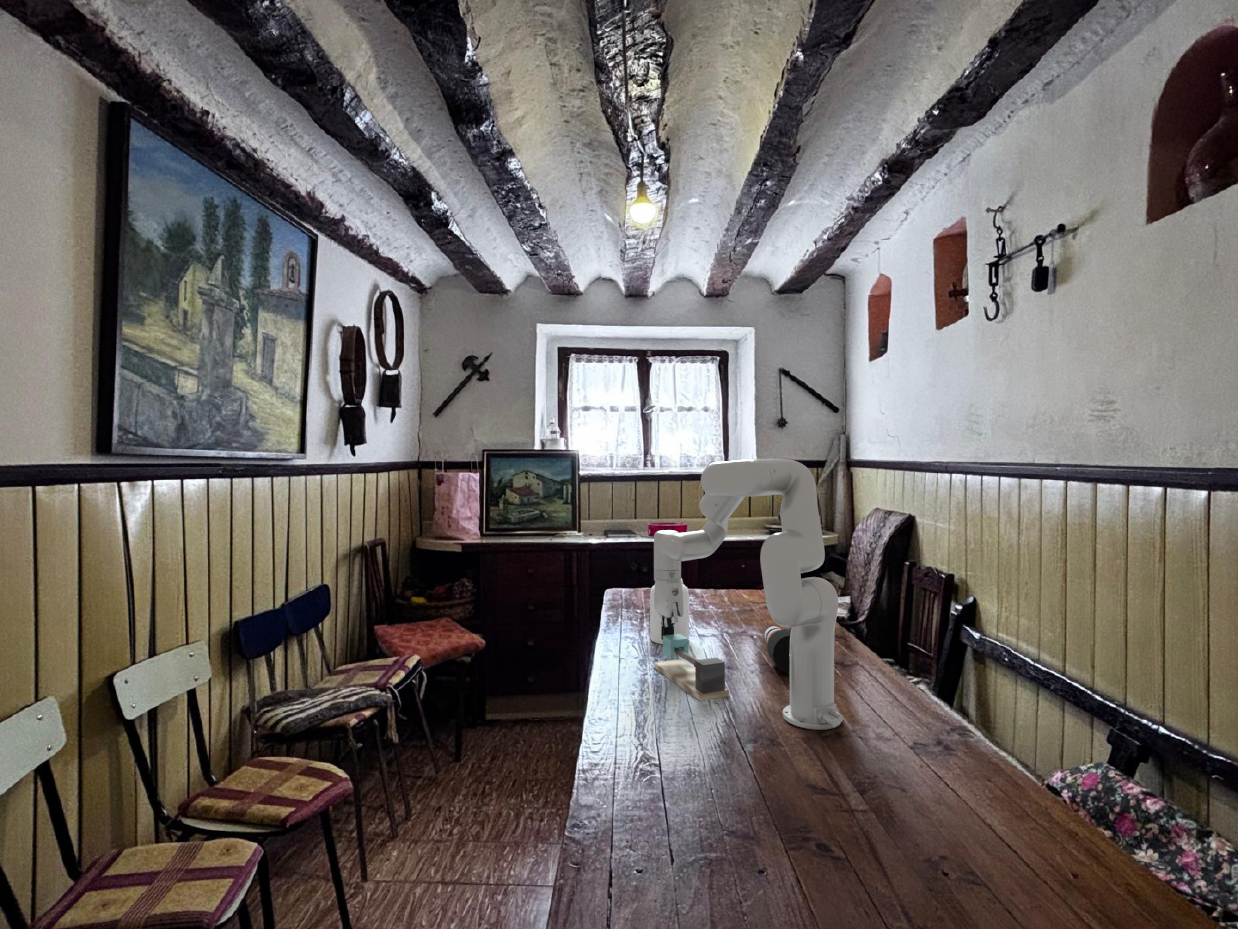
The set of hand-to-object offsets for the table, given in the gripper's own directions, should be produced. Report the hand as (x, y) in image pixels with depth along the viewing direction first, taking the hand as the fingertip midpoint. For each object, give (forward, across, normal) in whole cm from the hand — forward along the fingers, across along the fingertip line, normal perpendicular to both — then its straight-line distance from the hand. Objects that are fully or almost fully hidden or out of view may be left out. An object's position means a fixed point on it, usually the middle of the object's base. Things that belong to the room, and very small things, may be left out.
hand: (667, 640), depth 181 cm
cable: (+8, -5, -34) cm, 36 cm away
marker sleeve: (+3, -5, 0) cm, 6 cm away
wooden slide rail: (+8, -13, 0) cm, 15 cm away
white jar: (+8, +23, -12) cm, 27 cm away
